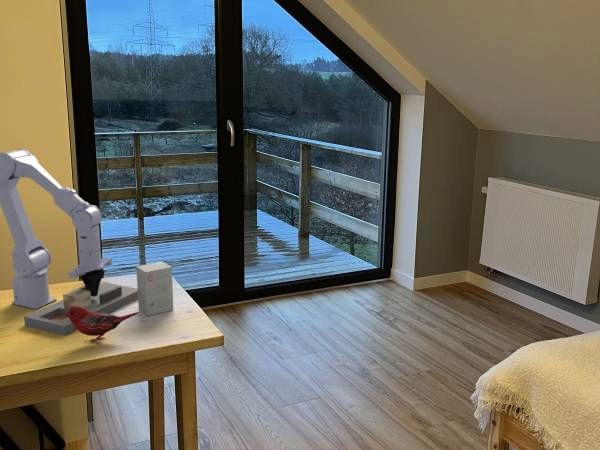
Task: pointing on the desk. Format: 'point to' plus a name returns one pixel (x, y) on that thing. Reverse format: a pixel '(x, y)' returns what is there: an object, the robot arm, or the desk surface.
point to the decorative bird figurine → (94, 322)
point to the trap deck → (104, 302)
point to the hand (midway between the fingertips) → (93, 295)
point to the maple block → (77, 298)
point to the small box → (154, 288)
